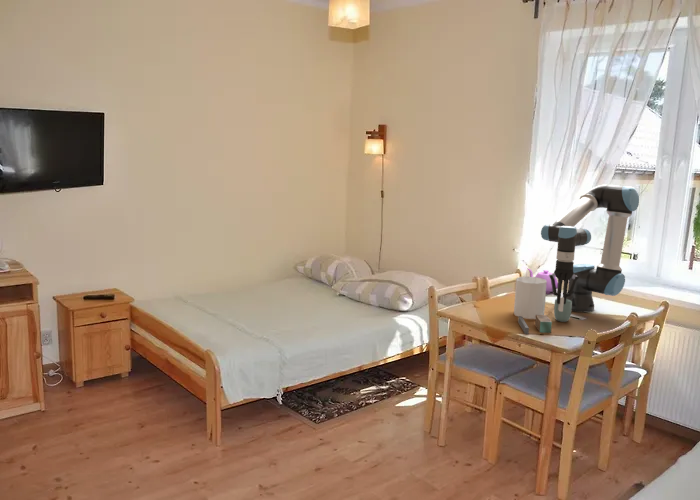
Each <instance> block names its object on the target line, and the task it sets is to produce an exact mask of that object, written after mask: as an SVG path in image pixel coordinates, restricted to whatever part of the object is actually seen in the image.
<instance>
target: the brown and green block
mask: <svg viewBox="0 0 700 500" xmlns="http://www.w3.org/2000/svg"><path fill="white" fill-rule="evenodd" d="M534 325H535V327H536V329H537V330H538V331H539V333H548V334H549V333H550V334H552V325H553V321H551V319H550V318H549V316H548V315H547V314H544V315H536V317H535V319H534Z"/></svg>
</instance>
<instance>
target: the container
mask: <svg viewBox="0 0 700 500" xmlns="http://www.w3.org/2000/svg"><path fill="white" fill-rule="evenodd" d="M546 283H547V281H546V280H545V279H542V278H537V277H535V276H533V277H530V276H519V277H516V278H515V288H514V289H515V291H514V304H513V305H514V307H513V315H514V316H516V317H518V316H522V318H523V319H528V320H535V317H536V315H545V307H546V296H547V294H546Z"/></svg>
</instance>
